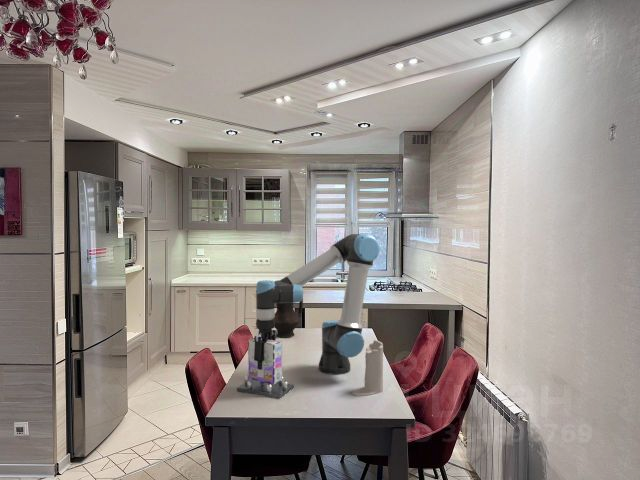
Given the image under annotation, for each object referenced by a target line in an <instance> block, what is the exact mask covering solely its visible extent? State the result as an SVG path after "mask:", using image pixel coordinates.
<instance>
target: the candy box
mask: <svg viewBox="0 0 640 480" xmlns="http://www.w3.org/2000/svg"><path fill="white" fill-rule="evenodd" d="M275 340H276V339H275ZM275 340H268V341H267V342H266V343H265V344H264V358H263V361H264V377H258V362H257V361H254V350H255V340H254V338H250V339H248V340H247V341H248V347H247V348H248V360H247V361H248V375H249V379H250V380H251V379H252V380H257V381H261V382H265V383H270V384H276V383H278V382H280V381H282V376H283V341H281V340H276V341H275Z"/></svg>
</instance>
